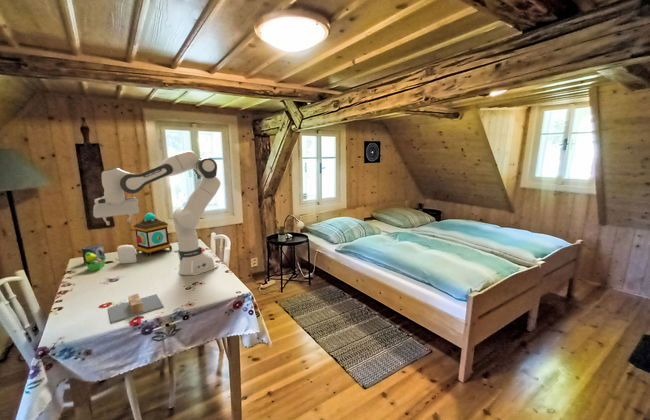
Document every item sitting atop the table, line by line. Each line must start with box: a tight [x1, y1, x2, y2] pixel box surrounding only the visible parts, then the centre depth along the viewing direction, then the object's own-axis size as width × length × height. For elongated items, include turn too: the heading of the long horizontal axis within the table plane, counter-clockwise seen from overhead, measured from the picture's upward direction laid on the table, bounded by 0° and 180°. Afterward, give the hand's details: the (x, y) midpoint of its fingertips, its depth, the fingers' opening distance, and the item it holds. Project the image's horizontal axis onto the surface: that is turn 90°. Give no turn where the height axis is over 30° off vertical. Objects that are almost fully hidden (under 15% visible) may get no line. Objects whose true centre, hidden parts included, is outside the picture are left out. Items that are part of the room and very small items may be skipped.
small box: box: [81, 243, 106, 264], centre depth 198 cm, size 11×6×10 cm, turn 168°
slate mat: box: [107, 293, 164, 324], centre depth 135 cm, size 20×16×1 cm
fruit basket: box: [85, 252, 106, 272], centre depth 185 cm, size 11×9×11 cm
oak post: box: [127, 293, 143, 314], centre depth 134 cm, size 4×4×12 cm
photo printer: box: [116, 244, 138, 264], centre depth 194 cm, size 10×4×12 cm, turn 96°
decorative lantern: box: [132, 212, 173, 258], centre depth 213 cm, size 20×20×30 cm
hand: (118, 223), depth 158 cm, fingers open, 8 cm apart
